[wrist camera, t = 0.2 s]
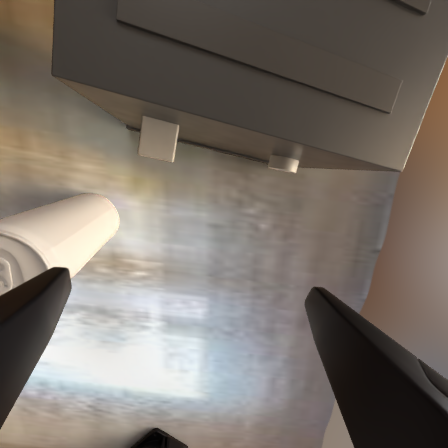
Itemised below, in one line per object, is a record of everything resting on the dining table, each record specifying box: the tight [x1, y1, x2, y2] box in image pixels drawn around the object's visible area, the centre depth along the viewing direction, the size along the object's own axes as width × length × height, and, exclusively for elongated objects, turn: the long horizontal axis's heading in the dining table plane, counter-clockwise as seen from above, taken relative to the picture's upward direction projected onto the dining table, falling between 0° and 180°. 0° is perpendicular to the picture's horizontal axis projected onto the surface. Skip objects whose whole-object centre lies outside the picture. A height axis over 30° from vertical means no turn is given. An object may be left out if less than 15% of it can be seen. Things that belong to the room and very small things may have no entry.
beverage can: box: [0, 193, 119, 295], centre depth 16 cm, size 5×5×12 cm
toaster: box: [51, 0, 448, 173], centre depth 15 cm, size 12×16×13 cm
